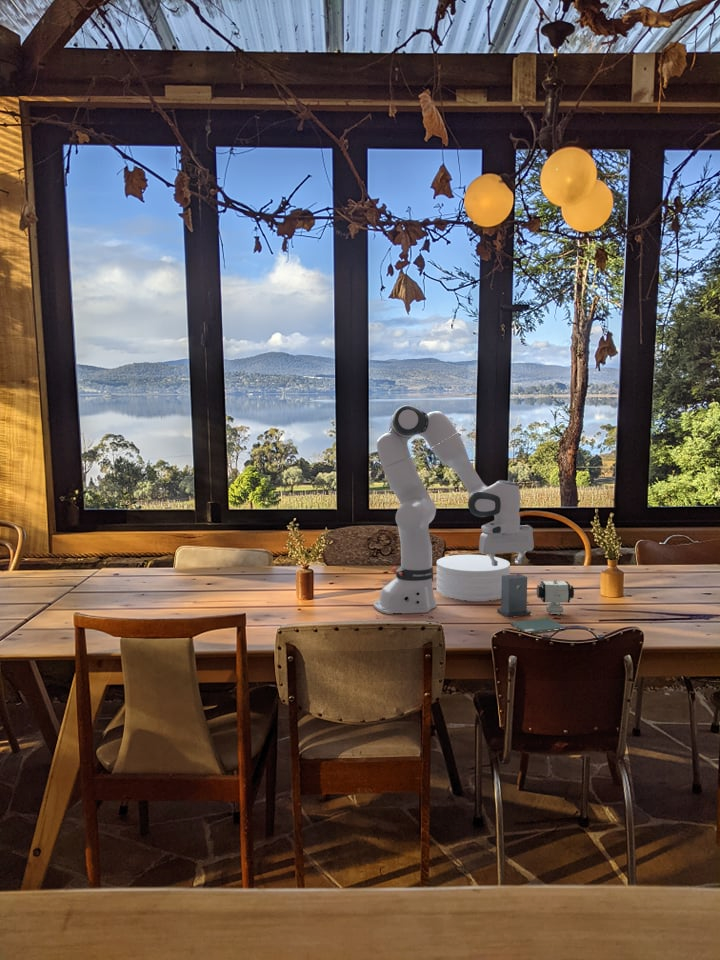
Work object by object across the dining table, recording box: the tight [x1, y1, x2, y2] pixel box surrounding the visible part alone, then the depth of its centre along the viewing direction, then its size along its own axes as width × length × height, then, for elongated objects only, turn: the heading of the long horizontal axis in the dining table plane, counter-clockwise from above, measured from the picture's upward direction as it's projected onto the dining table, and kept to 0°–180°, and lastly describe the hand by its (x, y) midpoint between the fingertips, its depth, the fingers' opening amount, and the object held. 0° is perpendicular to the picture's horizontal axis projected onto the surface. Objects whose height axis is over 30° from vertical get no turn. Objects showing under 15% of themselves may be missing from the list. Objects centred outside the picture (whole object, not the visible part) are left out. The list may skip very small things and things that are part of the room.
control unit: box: [496, 573, 532, 618], centre depth 233 cm, size 9×7×13 cm
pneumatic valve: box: [536, 579, 575, 616], centre depth 233 cm, size 6×12×12 cm, turn 86°
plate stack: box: [435, 554, 511, 602], centre depth 263 cm, size 28×28×12 cm
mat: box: [510, 617, 565, 634], centre depth 220 cm, size 14×10×1 cm
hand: (506, 564), depth 242 cm, fingers open, 8 cm apart
